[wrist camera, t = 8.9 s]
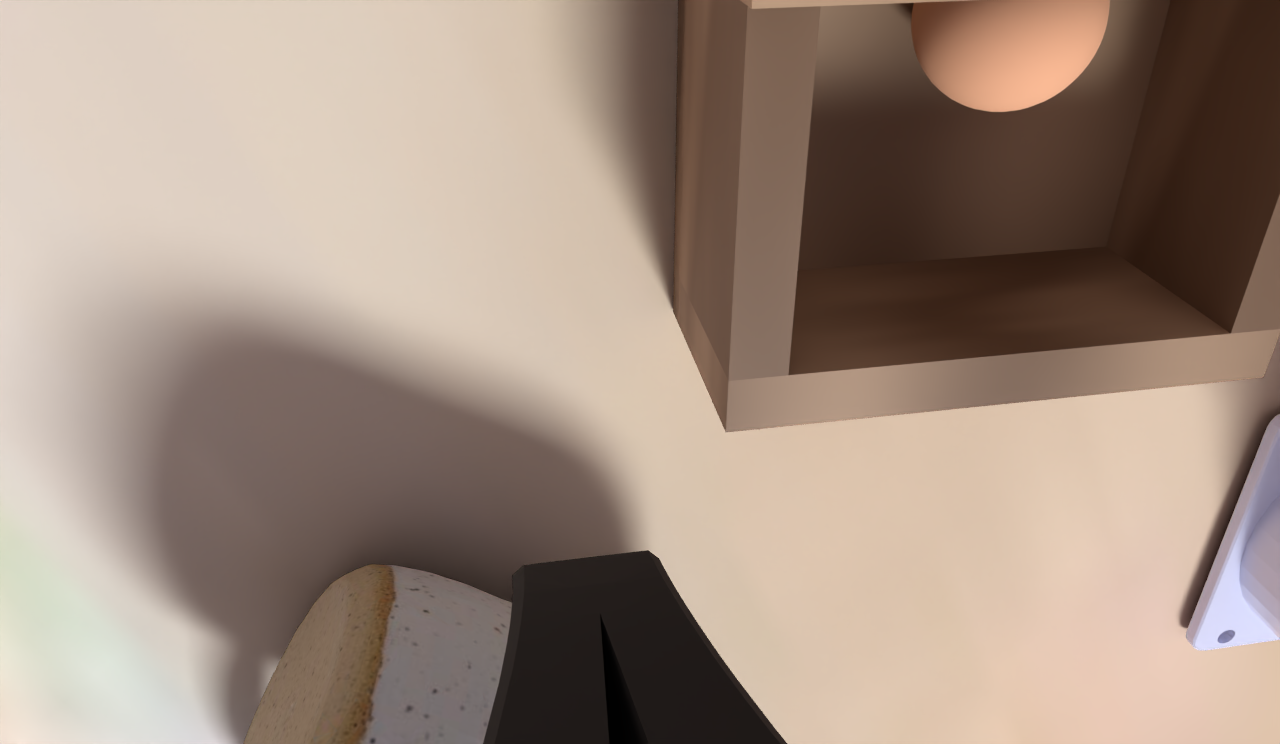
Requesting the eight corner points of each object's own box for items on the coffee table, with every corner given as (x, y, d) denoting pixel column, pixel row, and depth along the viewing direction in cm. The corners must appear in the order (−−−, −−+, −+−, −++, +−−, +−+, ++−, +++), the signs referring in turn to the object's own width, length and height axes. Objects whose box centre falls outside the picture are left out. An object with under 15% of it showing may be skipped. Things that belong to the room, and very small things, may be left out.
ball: (1063, -98, 17) (1175, -76, 14) (1028, 81, 18) (1122, 130, 16) (895, -93, 16) (979, -71, 14) (873, 89, 18) (945, 140, 15)
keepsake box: (1271, -273, 16) (1515, -288, 13) (1121, 274, 21) (1263, 377, 18) (682, -275, 15) (762, -294, 11) (672, 311, 20) (726, 432, 16)
